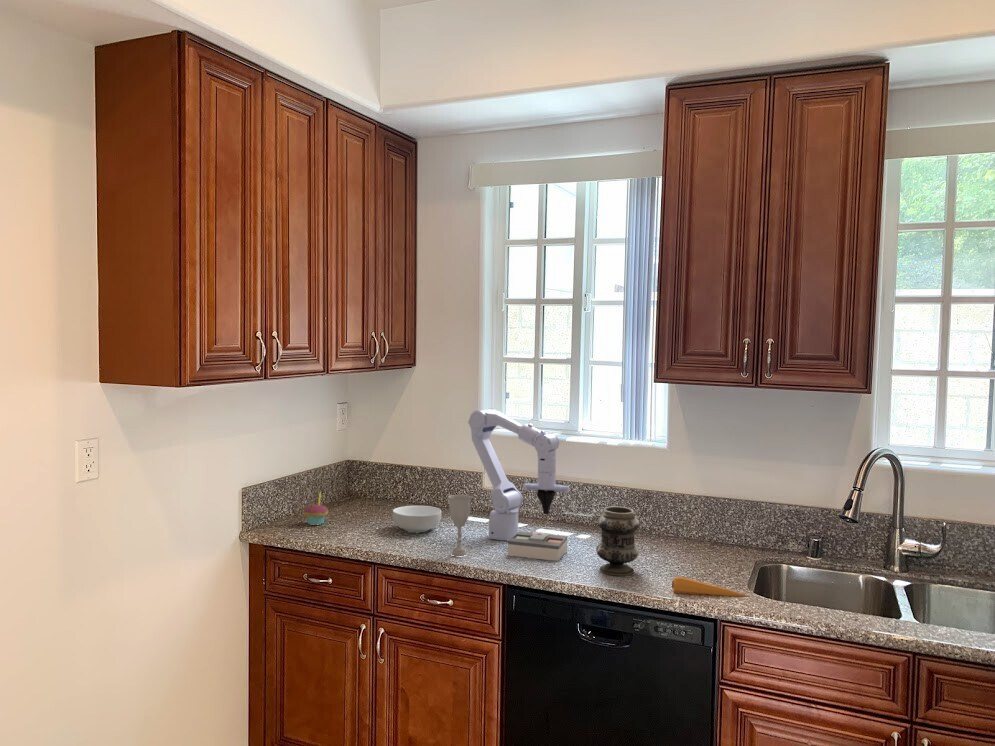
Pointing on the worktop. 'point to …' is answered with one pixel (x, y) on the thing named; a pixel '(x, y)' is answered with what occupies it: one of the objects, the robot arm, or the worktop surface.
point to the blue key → (538, 537)
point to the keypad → (537, 546)
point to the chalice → (459, 518)
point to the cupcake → (316, 512)
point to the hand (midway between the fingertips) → (546, 513)
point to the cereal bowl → (416, 518)
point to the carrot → (699, 588)
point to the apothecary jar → (617, 540)
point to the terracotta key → (554, 541)
